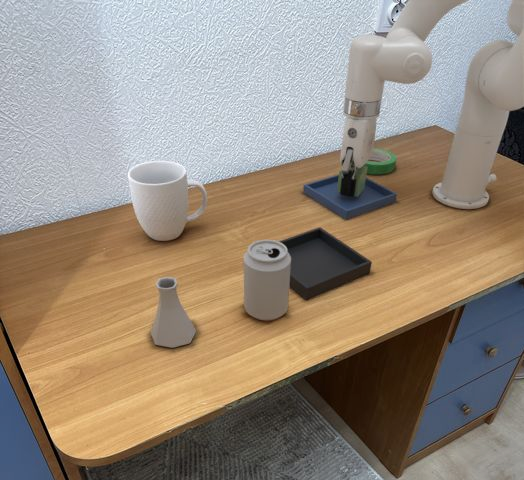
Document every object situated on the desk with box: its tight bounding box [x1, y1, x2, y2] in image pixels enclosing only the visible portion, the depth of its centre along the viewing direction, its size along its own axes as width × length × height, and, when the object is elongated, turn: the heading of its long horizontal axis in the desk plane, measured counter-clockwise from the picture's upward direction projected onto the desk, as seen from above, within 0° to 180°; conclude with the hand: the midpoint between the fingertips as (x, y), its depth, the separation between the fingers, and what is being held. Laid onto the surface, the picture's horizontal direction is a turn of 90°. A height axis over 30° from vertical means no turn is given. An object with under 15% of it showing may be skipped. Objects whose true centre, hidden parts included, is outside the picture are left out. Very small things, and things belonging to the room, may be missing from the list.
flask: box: [150, 276, 197, 349], centre depth 78 cm, size 7×7×10 cm
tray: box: [302, 173, 398, 220], centre depth 117 cm, size 15×15×2 cm
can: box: [243, 239, 291, 322], centre depth 83 cm, size 8×8×12 cm
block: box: [337, 164, 368, 196], centre depth 115 cm, size 5×5×5 cm
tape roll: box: [351, 147, 397, 175], centre depth 130 cm, size 11×11×3 cm
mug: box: [127, 160, 209, 242], centre depth 101 cm, size 15×11×13 cm
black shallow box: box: [278, 226, 373, 301], centre depth 96 cm, size 15×15×2 cm
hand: (351, 189), depth 117 cm, fingers closed on block, 5 cm apart
